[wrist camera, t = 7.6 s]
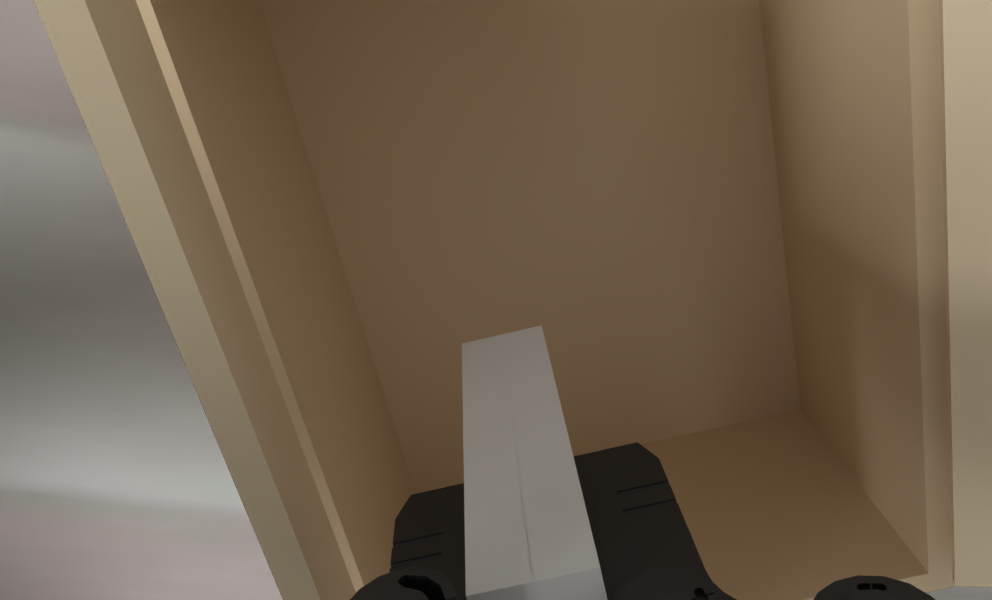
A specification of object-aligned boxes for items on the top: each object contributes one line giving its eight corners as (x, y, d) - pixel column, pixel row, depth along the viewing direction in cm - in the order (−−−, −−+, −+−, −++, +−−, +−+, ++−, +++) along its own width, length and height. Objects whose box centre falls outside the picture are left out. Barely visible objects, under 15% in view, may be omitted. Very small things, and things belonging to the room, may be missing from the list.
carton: (410, 518, 30) (392, 726, 22) (215, -82, 23) (72, -113, 14) (816, 430, 30) (957, 610, 21) (755, -219, 22) (937, -336, 14)
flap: (374, 700, 21) (424, 940, 15) (99, -12, 14) (17, -36, 9) (393, 692, 21) (450, 928, 15) (128, -18, 14) (65, -46, 9)
